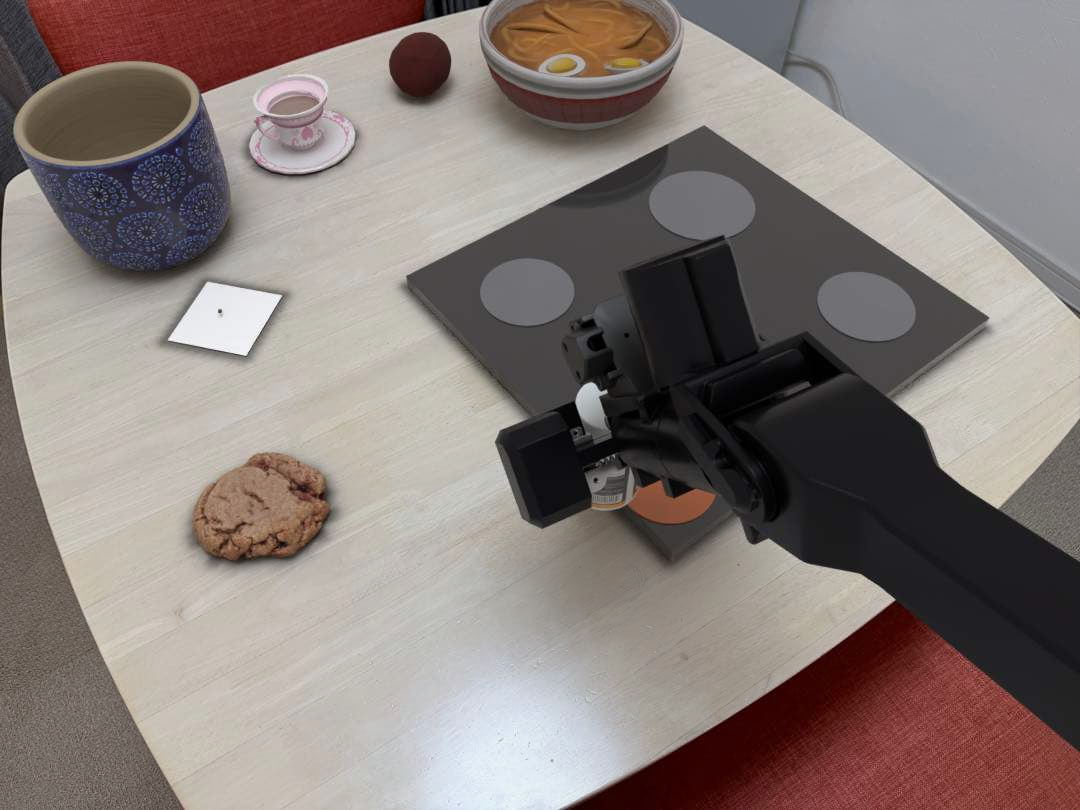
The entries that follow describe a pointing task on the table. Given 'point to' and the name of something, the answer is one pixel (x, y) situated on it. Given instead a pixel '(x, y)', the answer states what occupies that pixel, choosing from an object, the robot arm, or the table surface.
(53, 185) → the planter
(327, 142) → the teacup
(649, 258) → the robot arm
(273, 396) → the table surface
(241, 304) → the coaster
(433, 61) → the potato
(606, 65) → the bowl
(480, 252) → the hob
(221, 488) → the cookie
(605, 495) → the pill bottle
